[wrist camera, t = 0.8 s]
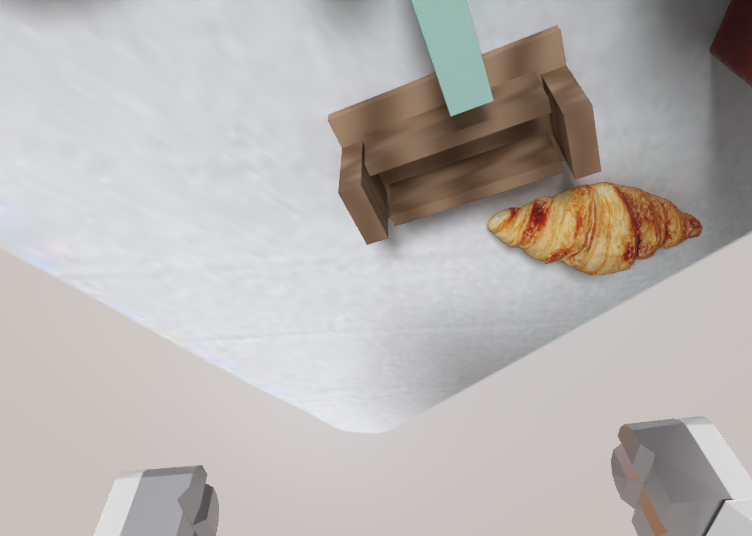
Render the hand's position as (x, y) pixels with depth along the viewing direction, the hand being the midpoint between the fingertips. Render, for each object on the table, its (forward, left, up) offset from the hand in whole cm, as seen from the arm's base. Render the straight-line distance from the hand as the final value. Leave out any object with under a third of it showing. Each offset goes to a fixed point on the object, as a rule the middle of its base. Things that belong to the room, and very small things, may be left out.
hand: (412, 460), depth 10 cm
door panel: (-3, +2, -38) cm, 39 cm away
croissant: (-11, +29, -39) cm, 50 cm away
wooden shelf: (-1, +15, -38) cm, 41 cm away
